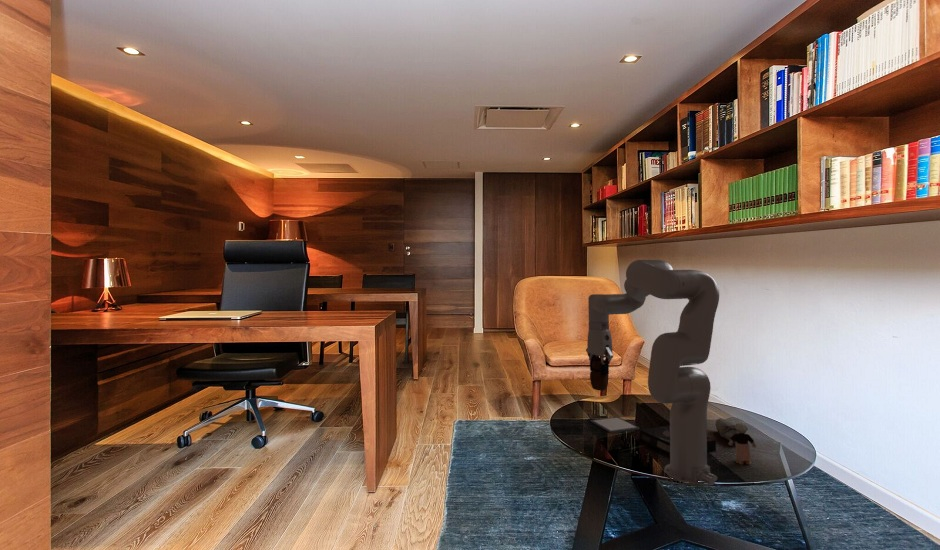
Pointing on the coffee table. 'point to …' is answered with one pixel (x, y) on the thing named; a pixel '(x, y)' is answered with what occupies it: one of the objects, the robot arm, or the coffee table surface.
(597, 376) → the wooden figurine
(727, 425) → the decorative bird
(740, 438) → the toy figure
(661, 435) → the portable cd player
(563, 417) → the coffee table surface
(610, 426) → the card
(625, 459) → the coffee table surface
